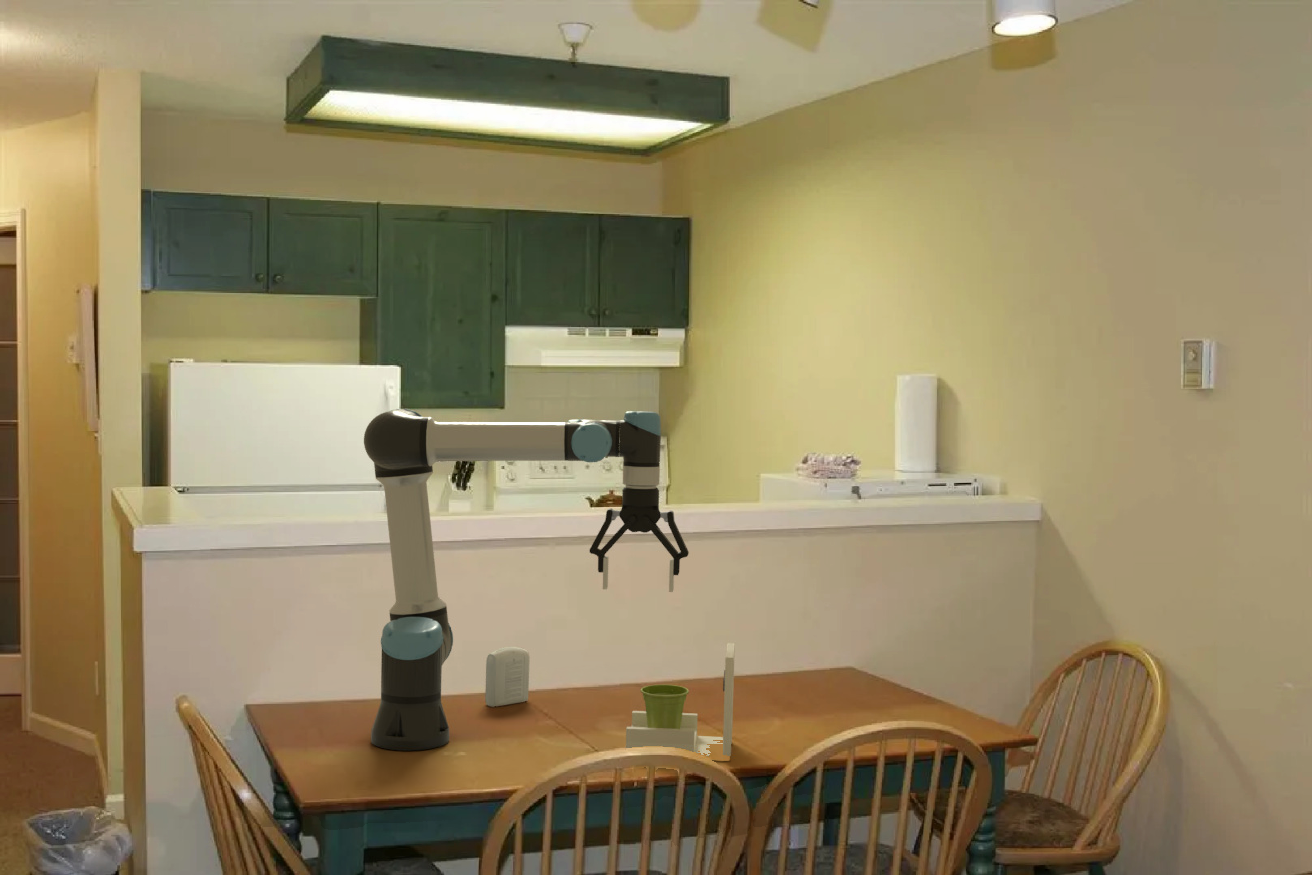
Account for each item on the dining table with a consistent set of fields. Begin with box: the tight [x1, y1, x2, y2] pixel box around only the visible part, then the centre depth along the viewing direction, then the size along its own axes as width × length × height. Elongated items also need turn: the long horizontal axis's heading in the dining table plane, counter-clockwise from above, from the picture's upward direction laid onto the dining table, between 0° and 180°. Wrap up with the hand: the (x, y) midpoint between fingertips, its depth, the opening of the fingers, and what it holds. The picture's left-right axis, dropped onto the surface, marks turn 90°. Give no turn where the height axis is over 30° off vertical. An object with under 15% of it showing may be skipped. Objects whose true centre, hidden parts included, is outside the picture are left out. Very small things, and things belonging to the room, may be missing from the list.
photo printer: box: [484, 646, 530, 708], centre depth 308 cm, size 10×4×12 cm, turn 134°
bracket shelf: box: [625, 642, 736, 757], centre depth 275 cm, size 14×20×20 cm
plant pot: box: [640, 683, 690, 729], centre depth 275 cm, size 9×9×9 cm
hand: (638, 589), depth 289 cm, fingers open, 13 cm apart
